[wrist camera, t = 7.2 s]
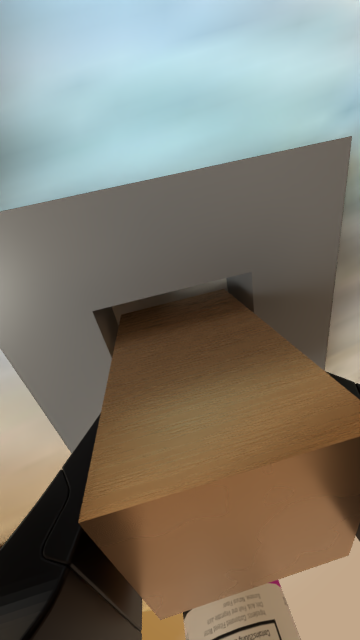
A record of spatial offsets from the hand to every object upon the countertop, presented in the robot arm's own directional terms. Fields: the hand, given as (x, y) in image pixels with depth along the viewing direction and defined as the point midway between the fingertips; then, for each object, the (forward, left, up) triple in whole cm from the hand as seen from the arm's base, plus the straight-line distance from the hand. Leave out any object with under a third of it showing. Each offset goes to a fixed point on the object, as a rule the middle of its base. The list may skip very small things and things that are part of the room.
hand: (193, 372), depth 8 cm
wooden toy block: (0, 0, -2) cm, 2 cm away
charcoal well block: (0, 0, -4) cm, 4 cm away
